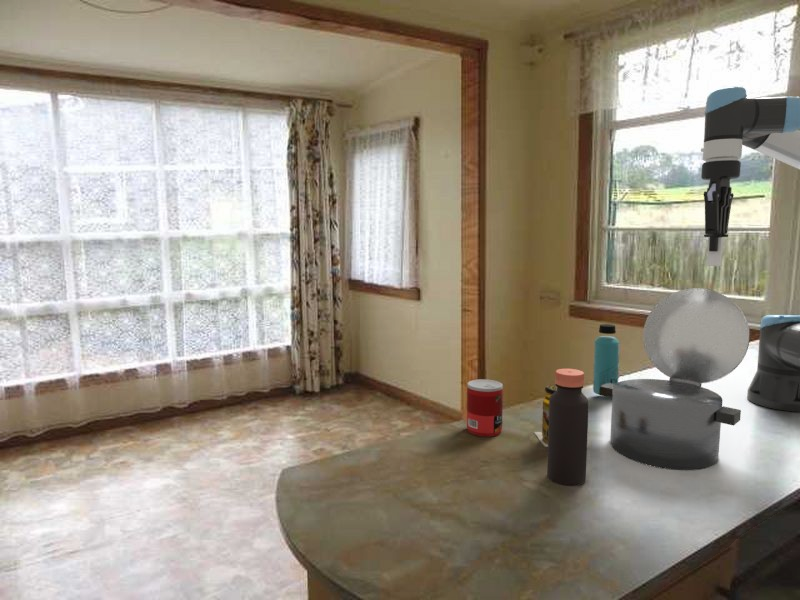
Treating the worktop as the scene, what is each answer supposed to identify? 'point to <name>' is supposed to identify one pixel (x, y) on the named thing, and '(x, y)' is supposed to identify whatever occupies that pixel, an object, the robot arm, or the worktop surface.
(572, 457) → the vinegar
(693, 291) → the lid
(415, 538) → the worktop surface
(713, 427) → the pot
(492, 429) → the canned food
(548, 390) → the condiment
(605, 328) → the beverage bottle
